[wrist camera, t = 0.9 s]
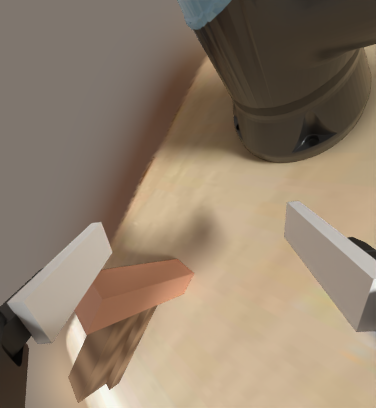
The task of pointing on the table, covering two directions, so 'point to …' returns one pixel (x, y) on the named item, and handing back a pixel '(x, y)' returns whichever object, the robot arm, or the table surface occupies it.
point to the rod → (130, 292)
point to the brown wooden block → (107, 354)
